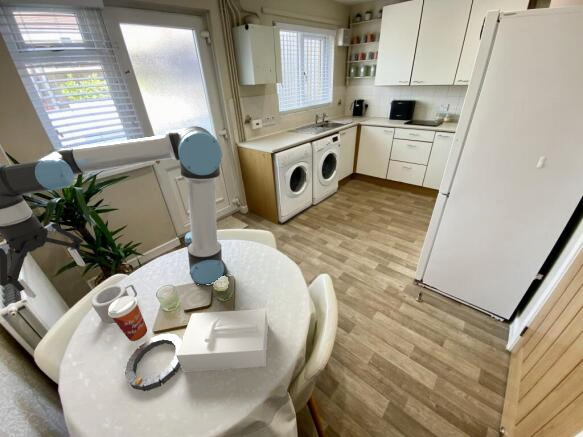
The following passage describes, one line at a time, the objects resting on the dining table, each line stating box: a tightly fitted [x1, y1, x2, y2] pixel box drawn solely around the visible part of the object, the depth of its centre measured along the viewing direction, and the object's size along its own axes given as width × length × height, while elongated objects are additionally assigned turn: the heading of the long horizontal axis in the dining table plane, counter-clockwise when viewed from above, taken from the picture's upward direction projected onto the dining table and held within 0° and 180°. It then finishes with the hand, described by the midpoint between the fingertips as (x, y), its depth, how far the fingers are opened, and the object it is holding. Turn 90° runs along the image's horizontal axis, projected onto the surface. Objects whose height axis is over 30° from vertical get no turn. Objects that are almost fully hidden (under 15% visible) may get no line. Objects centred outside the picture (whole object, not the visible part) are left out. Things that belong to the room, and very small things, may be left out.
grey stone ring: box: [124, 333, 182, 392], centre depth 75 cm, size 16×16×3 cm
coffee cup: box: [108, 295, 148, 342], centre depth 81 cm, size 8×8×15 cm
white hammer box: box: [175, 308, 269, 373], centre depth 77 cm, size 14×25×11 cm, turn 92°
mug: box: [90, 284, 138, 325], centre depth 92 cm, size 14×11×10 cm
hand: (59, 279), depth 73 cm, fingers open, 13 cm apart
